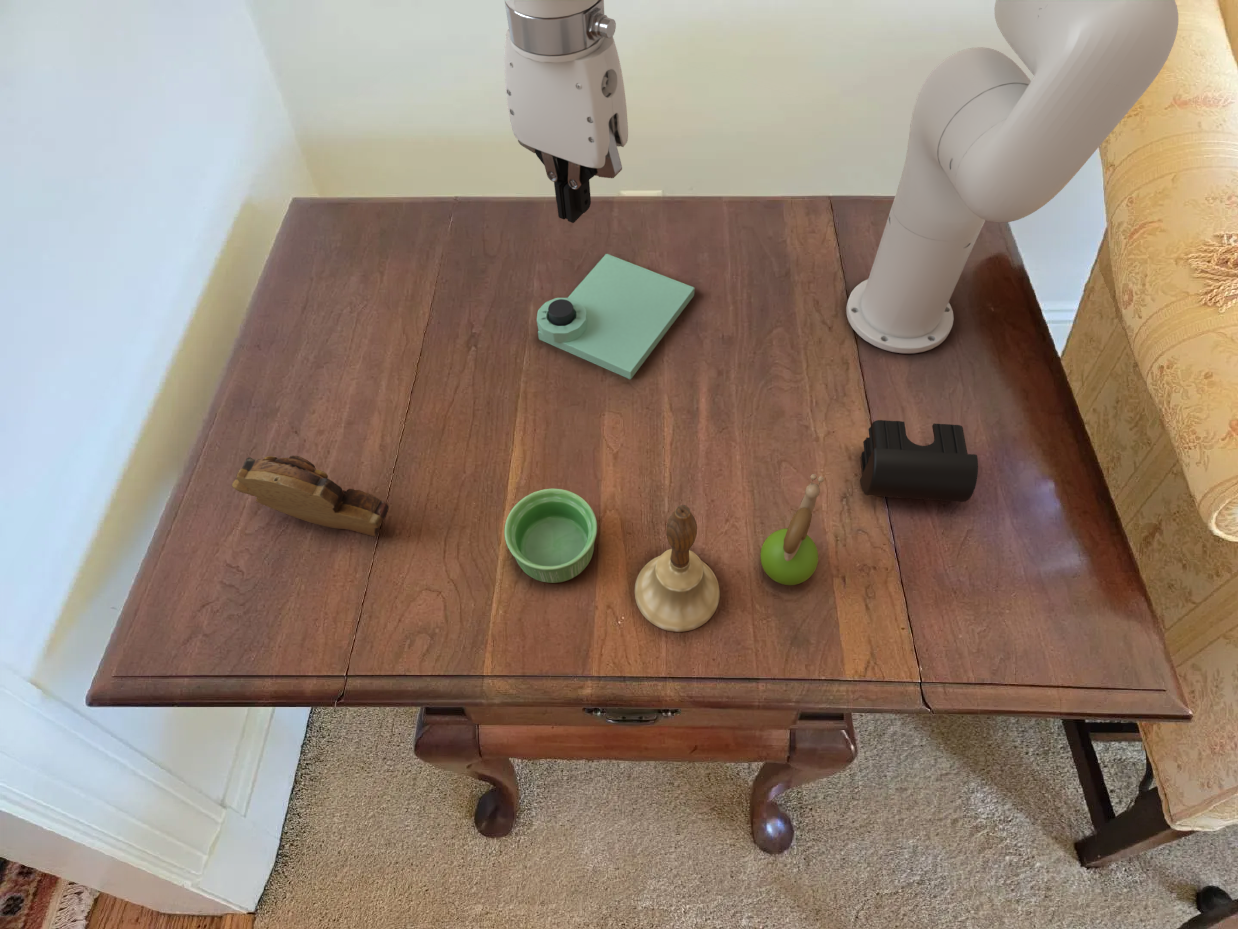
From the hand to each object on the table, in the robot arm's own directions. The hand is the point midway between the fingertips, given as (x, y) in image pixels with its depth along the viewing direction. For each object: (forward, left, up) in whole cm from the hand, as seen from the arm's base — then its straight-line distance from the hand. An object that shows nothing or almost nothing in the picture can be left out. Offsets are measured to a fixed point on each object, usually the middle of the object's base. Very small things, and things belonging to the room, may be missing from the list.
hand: (574, 212), depth 76 cm
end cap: (-1, +39, -21) cm, 44 cm away
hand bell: (+22, +24, -21) cm, 39 cm away
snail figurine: (+14, +32, -21) cm, 41 cm away
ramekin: (+24, +11, -21) cm, 34 cm away
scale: (-7, 0, -21) cm, 22 cm away
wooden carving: (+33, -12, -21) cm, 41 cm away
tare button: (-2, -5, -18) cm, 19 cm away
